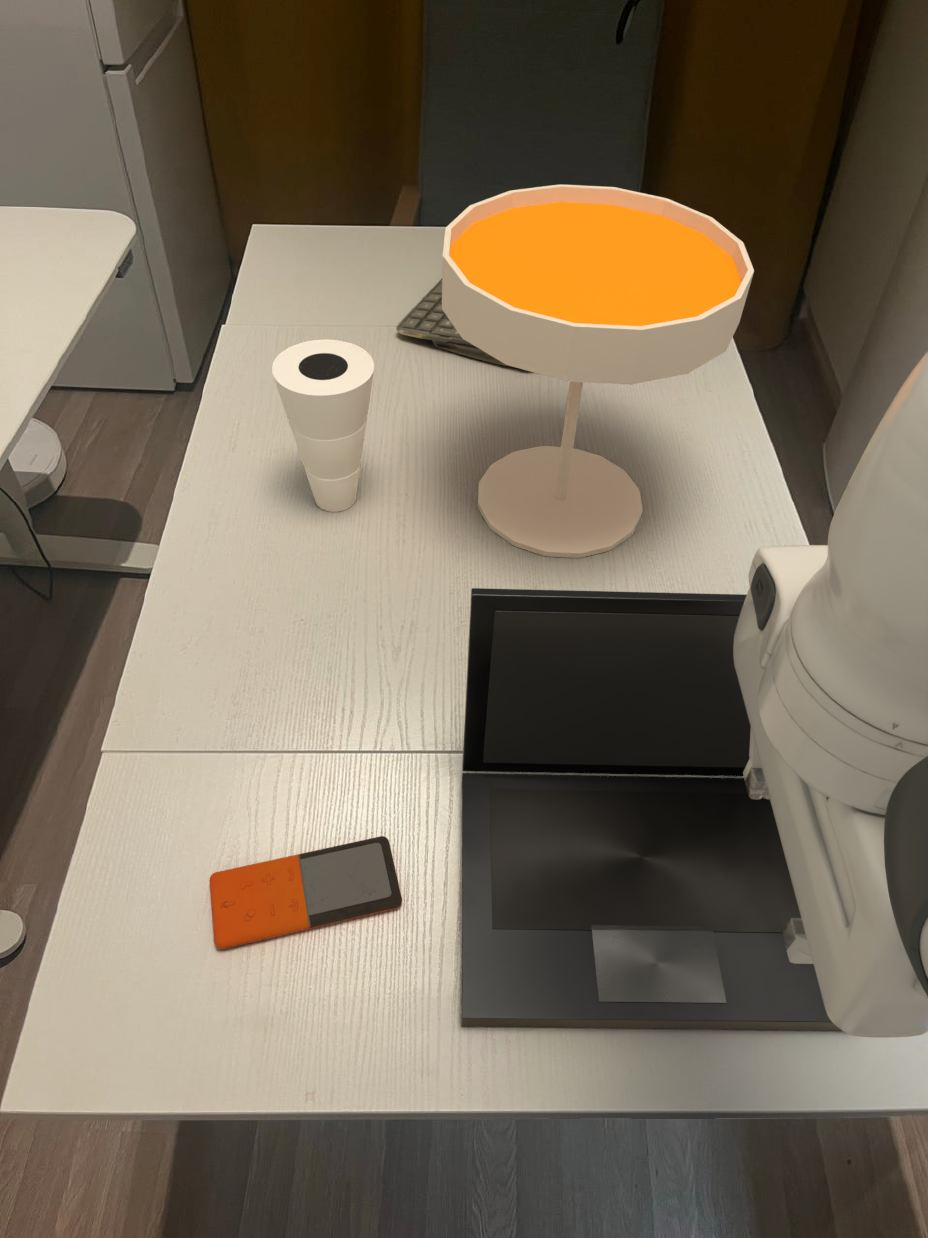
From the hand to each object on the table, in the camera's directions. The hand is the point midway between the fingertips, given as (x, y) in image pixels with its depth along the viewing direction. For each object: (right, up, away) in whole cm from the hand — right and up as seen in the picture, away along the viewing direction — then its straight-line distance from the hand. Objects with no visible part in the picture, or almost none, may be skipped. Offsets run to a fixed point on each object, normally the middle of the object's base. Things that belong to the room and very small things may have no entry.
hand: (779, 863), depth 45 cm
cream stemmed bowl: (-4, +27, +63) cm, 68 cm away
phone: (-29, -10, +28) cm, 42 cm away
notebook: (-1, -11, +29) cm, 31 cm away
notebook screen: (-1, +6, +28) cm, 28 cm away
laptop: (-8, +60, +93) cm, 111 cm away
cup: (-31, +27, +62) cm, 74 cm away
